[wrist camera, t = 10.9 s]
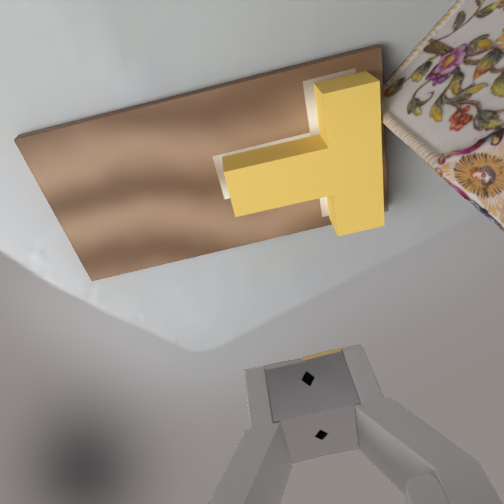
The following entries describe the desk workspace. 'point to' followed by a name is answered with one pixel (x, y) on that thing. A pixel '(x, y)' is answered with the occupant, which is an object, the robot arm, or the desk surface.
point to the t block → (321, 160)
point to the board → (181, 167)
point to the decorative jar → (456, 102)
